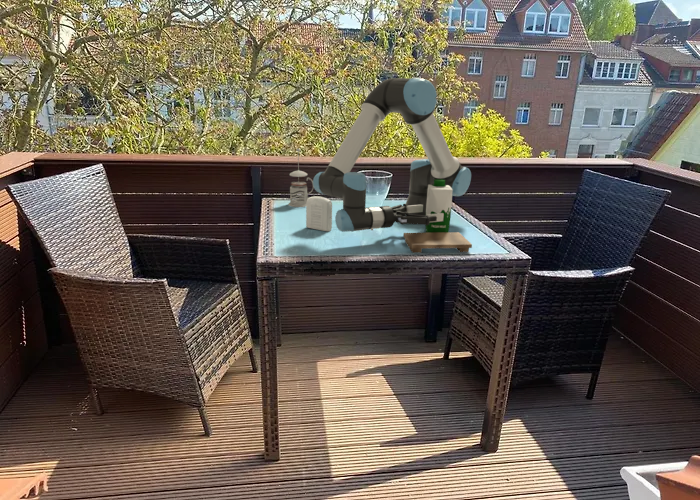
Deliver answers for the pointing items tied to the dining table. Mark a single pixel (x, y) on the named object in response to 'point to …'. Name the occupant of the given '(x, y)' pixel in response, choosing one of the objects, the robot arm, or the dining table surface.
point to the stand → (436, 241)
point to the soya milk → (439, 205)
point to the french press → (298, 188)
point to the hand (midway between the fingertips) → (432, 212)
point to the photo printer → (319, 213)
